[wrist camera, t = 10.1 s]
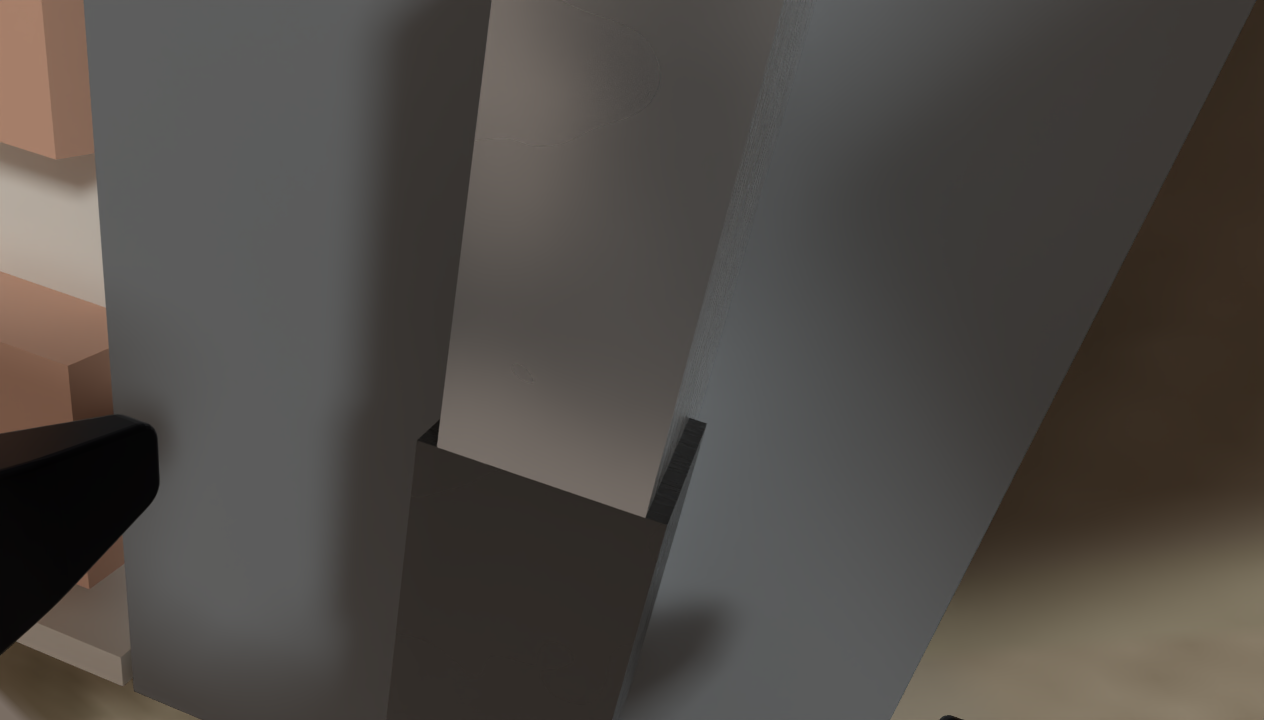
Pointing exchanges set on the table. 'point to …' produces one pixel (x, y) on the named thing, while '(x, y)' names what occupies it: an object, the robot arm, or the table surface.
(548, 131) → the sleeved grey plank
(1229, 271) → the table surface
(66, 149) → the tile
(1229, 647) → the table surface
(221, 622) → the board
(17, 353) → the tile
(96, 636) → the tray
